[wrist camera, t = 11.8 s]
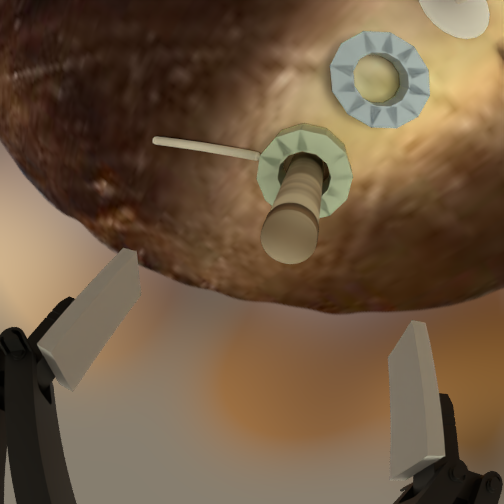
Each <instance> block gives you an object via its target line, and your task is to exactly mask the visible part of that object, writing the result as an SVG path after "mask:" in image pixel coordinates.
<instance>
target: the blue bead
mask: <svg viewBox="0 0 504 504" xmlns="http://www.w3.org/2000/svg"><path fill="white" fill-rule="evenodd" d="M366 55H380V56H382V57H384V58H385V59H387V60H389V61H390V62H392V63H393V65H394V67H395V68H396V70H397V71H398V73H399V82H400V87H399V89H398V90H397V92H396V94H395V96H394V97H393V98H391V99H389V100H387V101H385V102H384V103H380V102H369V101H368V100H366V99H364V98H362V96H361V95H360V93H359V92H358V90H357V89H356V87H355V86H354V74H353V71H354V69H355V67H356V65H357V63H358V61H359V59H361V58H363V57H364V56H366ZM330 73H331V83H332V92H333V93H334V95H335V96H336V97H337V99H338V100H339V102H340V103H341V105H342V106H343V108H344V109H345V111H346V112H347V114H348V115H350V116H352V117H354V118H356V119H357V120H359V121H361V122H363V123H364V124H366V125H368V126H370V127H371V128H372V127H378V128H398V127H400V126H402V125H404V124H405V123H407V122H409V121H411V120H413V119H415V118H417V117H418V116H419V114H420V112H421V111H422V109H423V107H424V105H425V103H426V102H427V100H428V98H429V96H430V90H429V70H428V68H427V67H426V65H425V63H424V62H423V60H422V58H421V57H420V55H419V54H418V52H417V50H416V49H415V47H414V46H412V45H410V44H409V43H407V42H406V41H404V40H402V39H401V38H399V37H397V36H395V35H394V34H392V33H390V32H371V31H363V32H361V33H359V34H357V35H356V36H354V37H352V38H350V39H348V40H347V41H345V42H343V43H341V45H340V47H339V49H338V51H337V53H336V55H335V57H334V59H333V61H332V63H331V65H330Z"/></svg>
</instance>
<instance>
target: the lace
mask: <svg viewBox="0 0 504 504" xmlns="http://www.w3.org/2000/svg"><path fill="white" fill-rule="evenodd" d="M153 143H154V144H156V145H163V146H170V147H177V148H184V149H191V150H198V151H204V152H210V153H216V154H222V155H227V156H233V157H238V158H244V159H249V160H254V161H258V160H259V159H260V153H259V152H256V151H251V150H245V149H240V148H234V147H228V146H222V145H216V144H210V143H203V142H197V141H190V140H182V139H175V138H167V137H159V136H156V137H154V138H153Z"/></svg>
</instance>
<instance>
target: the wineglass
mask: <svg viewBox="0 0 504 504" xmlns="http://www.w3.org/2000/svg"><path fill="white" fill-rule="evenodd" d="M419 3H420V5H421V7H422V9H423V11H424V13H425V14H426V15H427V16H428V18H429V19H430V20H431V21H432V22H433V24H435V25H436V26H437V27H439V28H440V29H441V30H442V31H444V32H445V33H448V34H450V35H452V36H454V37H457V38H463V39H470V38H476V37H478V36H479V35H481V34H482V33H484V31H485V30H486V28H487V26H488V24H489V16H490V14H489V9H488V4H487V2H486V0H419Z"/></svg>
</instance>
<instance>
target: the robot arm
mask: <svg viewBox="0 0 504 504" xmlns="http://www.w3.org/2000/svg"><path fill="white" fill-rule="evenodd" d="M140 296H141V287H140V279H139V270H138V261H137V252H136V251H132V250H129V249H125V248H123V249H122V250H121V251H120V252H119V253H118V254H117V255H116V256H115V257H114V258H113V259H112V260H111V261H110V262H109V263H108V265H106V266H105V267H104V269H103V270H102V271H101V272H100V273H99V274H98V275H97V276H96V277H95V278H94V279H93V280H92V281H91V282H90V283H89V284H88V286H87V287H86V288H85V289H84V290H83V291H82V292H81V293H80V294H79V295H78V297H77V298H76V299H74V298H72V297H68V298H66V299H64V300H62V301H61V302H60V303H58V305H57V306H56V307H55V308H54V309H53V311H52V312H50V313H49V314H48V316H47V318H45V319H44V320H43V322H41V324H40V325H39V326H38V327H37V328H36V329H35V331H34V332H33V333H32V334H31V335H30V336H29V338H28V339H27V338H26V336H25V334H24V332H23V331H22V330H21V329H20V328H17V327H11V328H8V329H6V330H4V331H3V332H2V333H1V335H0V504H4V476H5V462H6V451H7V447H8V456H9V463H10V470H11V477H12V483H13V488H14V493H15V498H16V502H17V504H76V500H75V497H74V493H73V490H72V486H71V483H70V478H69V475H68V471H67V466H66V462H65V457H64V452H63V447H62V443H61V437H60V431H59V425H58V419H57V412H56V404H55V397H54V387H53V383H52V381H53V379H54V378H55V377H56V379H57V381H58V382H59V384H60V385H62V386H64V387H65V388H67V389H69V390H71V391H74V390H75V388H76V386H77V385H78V384H79V382H80V381H81V379H82V377H83V376H84V375H85V373H86V371H87V370H88V369H89V367H90V366H91V364H92V363H93V361H94V360H95V358H96V357H97V356H98V354H99V353H100V351H101V350H102V348H103V347H104V345H105V344H106V343H107V341H108V340H109V338H110V337H111V336H112V334H113V333H114V331H115V330H116V328H117V327H118V326H119V324H120V323H121V322H122V320H123V319H124V318H125V316H126V315H127V313H128V312H129V311H130V309H131V308H132V307H133V305H134V303H136V301H137V300H138V298H139V297H140ZM388 366H389V383H390V412H391V451H390V477H389V480H407V479H408V478H410V477H412V476H413V483H411V484H409V485H407V486H405V487H403V488H402V489H401V490H400V491H404V490H405V491H404V492H403V493H402V495H401V496H400V497H399V498H398V499H397V500H396V501H395V502H394V503H393V504H498V501H499V498H500V494H501V491H502V485H503V483H502V479H501V477H500V475H499V474H498V473H497V472H494V471H490V472H487V473H486V474H484V475H480V474H477V473H474V472H471V471H468V469H467V466H466V465H465V463H464V462H463V461H461V460H460V459H459V453H458V442H457V433H456V426H455V418H454V410H453V404H452V402H451V400H450V398H449V396H448V394H441V393H439V391H438V385H437V378H436V372H435V367H434V361H433V356H432V351H431V346H430V341H429V336H428V332H427V327H426V323H423V322H419V321H414V320H412V321H411V322H410V324H409V325H408V327H407V329H406V330H405V332H404V334H403V335H402V337H401V338H400V340H399V341H398V343H397V345H396V346H395V348H394V349H393V351H392V352H391V354H390V355H389V357H388Z"/></svg>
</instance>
